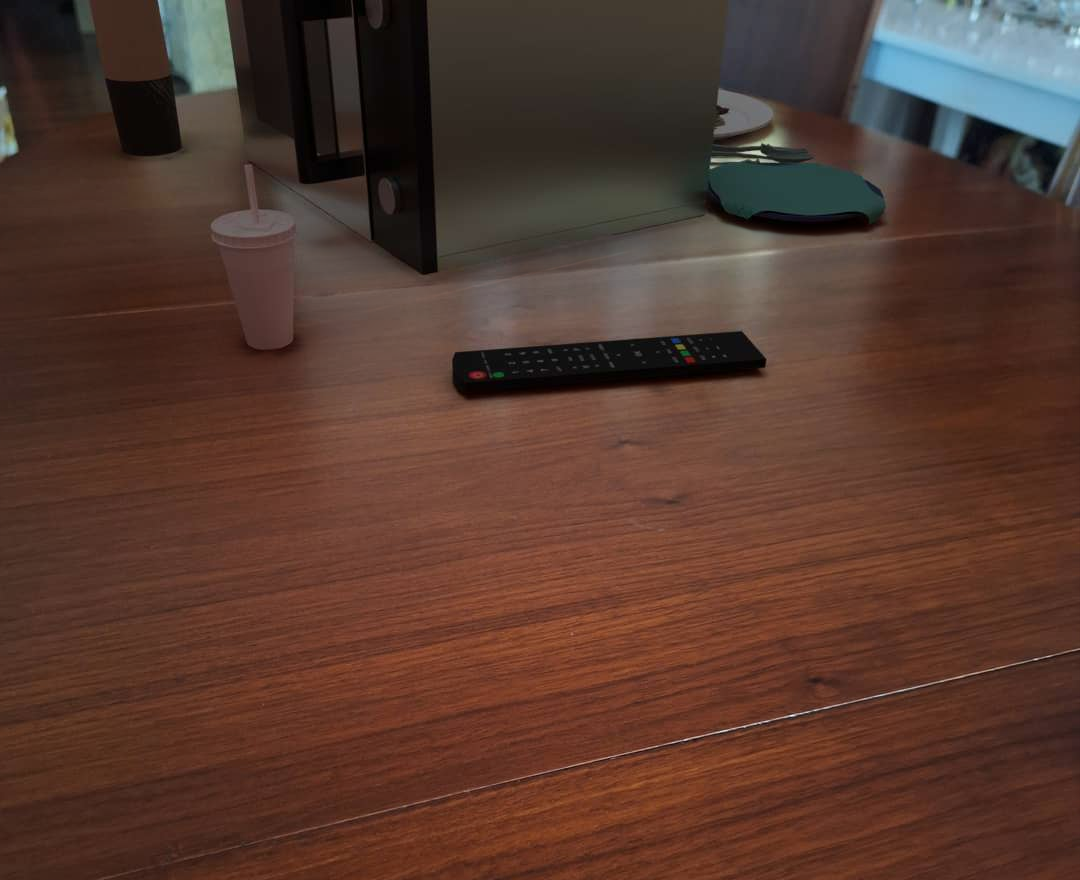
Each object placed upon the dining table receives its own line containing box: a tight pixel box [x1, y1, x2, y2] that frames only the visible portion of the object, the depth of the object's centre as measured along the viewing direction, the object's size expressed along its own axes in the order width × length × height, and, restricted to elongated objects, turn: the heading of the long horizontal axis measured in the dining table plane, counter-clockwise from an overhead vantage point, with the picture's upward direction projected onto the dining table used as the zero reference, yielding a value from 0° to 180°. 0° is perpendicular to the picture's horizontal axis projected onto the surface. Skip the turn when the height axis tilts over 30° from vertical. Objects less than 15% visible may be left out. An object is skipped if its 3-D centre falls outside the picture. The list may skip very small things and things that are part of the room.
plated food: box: [713, 89, 775, 141], centre depth 144 cm, size 30×30×3 cm
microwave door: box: [224, 0, 375, 242], centre depth 105 cm, size 7×34×28 cm, turn 34°
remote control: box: [451, 330, 767, 393], centre depth 80 cm, size 5×24×1 cm, turn 102°
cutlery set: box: [707, 142, 887, 226], centre depth 119 cm, size 20×30×2 cm, turn 1°
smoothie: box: [210, 163, 298, 351], centre depth 80 cm, size 6×6×14 cm
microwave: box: [356, 0, 729, 274], centre depth 111 cm, size 35×44×28 cm
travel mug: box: [88, 0, 183, 157], centre depth 124 cm, size 8×8×20 cm
